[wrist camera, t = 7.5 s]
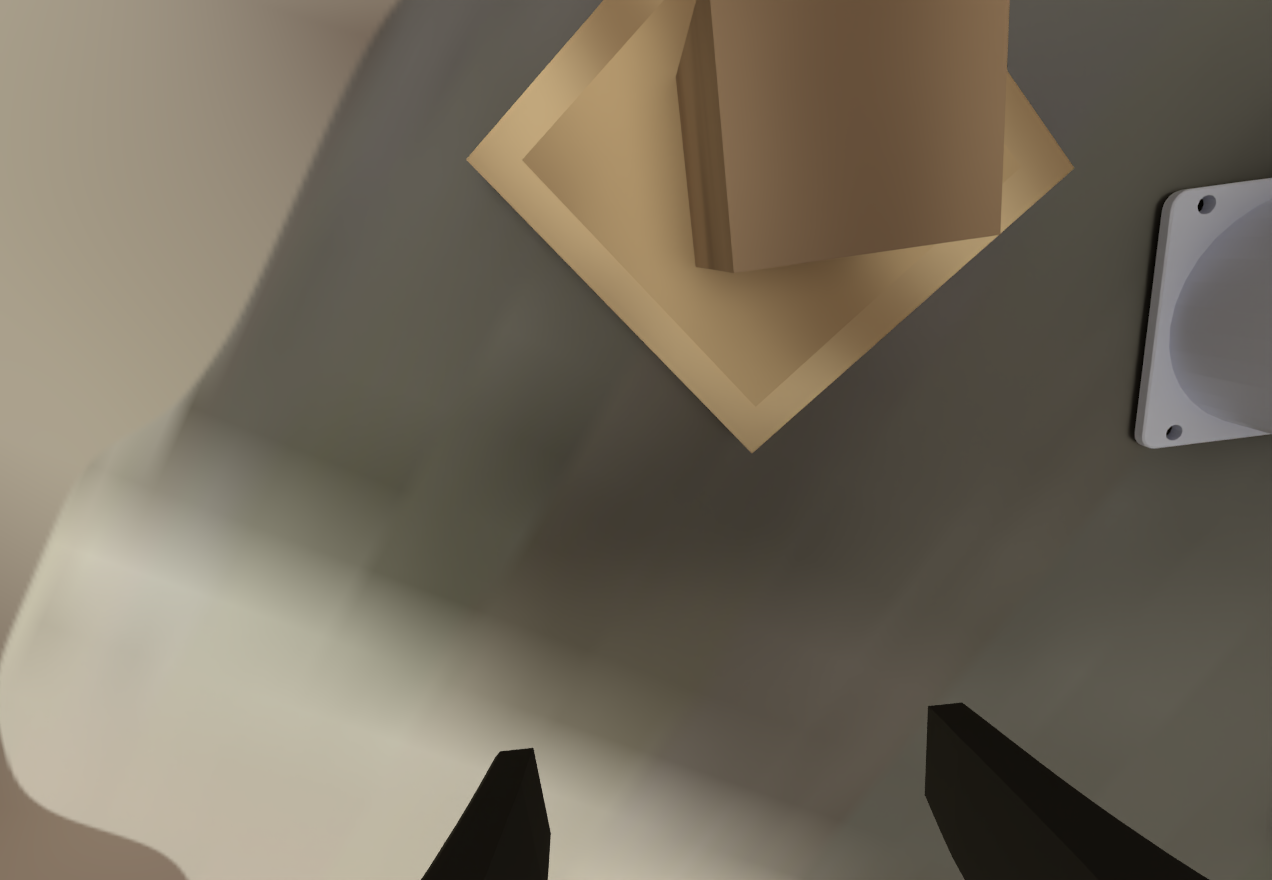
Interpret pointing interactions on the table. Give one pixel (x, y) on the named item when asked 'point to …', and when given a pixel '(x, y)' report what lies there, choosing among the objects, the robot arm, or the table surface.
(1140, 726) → the table surface
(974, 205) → the walnut block
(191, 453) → the table surface
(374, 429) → the table surface
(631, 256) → the oak plinth
